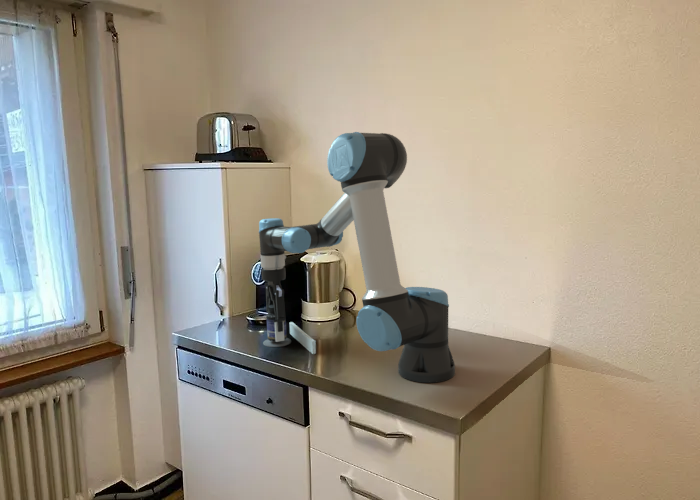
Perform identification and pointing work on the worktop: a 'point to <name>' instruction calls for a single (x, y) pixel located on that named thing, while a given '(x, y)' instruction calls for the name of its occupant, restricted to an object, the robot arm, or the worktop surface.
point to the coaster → (276, 343)
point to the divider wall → (303, 338)
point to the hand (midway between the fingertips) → (277, 337)
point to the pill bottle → (273, 324)
